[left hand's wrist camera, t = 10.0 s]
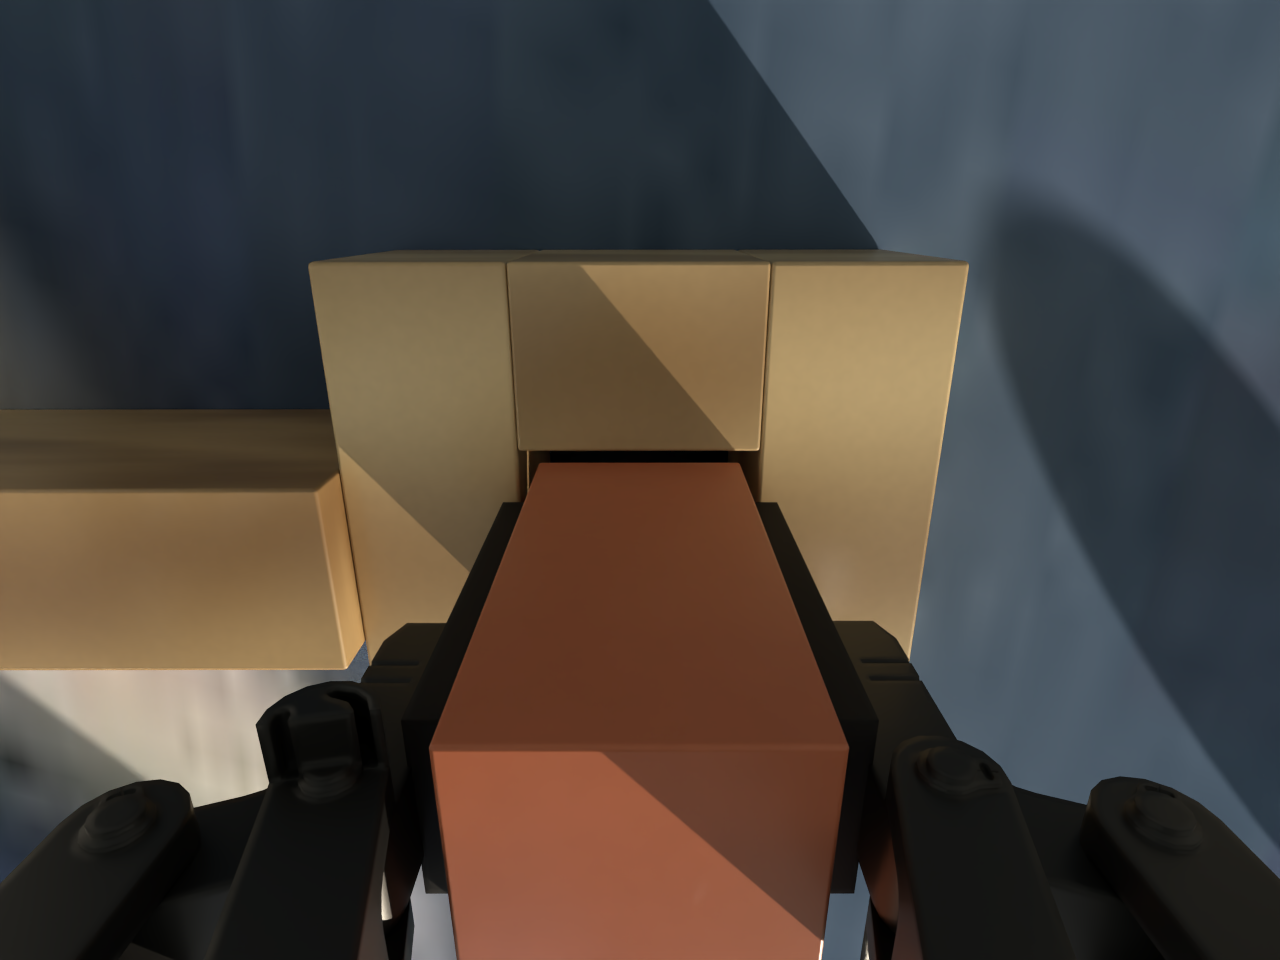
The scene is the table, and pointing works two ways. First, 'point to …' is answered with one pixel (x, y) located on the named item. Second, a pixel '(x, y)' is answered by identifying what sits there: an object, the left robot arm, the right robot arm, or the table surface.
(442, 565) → the wooden peg hole frame
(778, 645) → the peg
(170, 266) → the table surface
